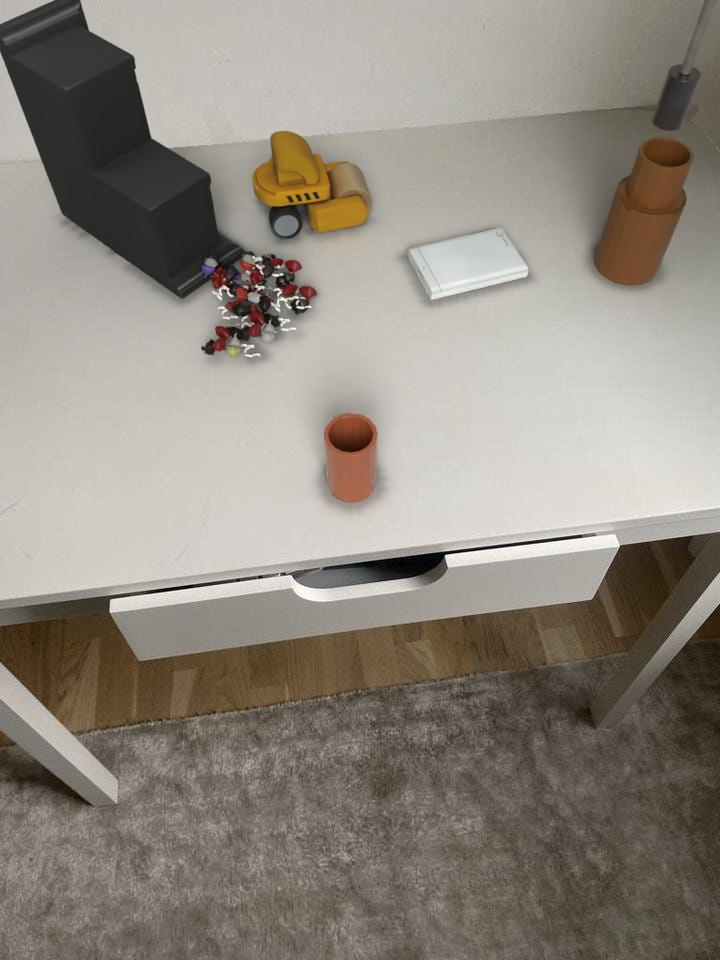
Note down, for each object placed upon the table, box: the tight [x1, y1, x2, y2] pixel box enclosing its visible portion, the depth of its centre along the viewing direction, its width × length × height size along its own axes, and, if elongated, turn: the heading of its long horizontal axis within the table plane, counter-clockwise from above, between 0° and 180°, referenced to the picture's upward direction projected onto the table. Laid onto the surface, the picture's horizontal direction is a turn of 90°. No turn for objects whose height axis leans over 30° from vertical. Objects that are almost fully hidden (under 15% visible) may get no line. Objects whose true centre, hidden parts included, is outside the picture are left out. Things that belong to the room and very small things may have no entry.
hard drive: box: [406, 227, 530, 301], centre depth 92 cm, size 2×8×12 cm
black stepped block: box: [0, 0, 246, 299], centre depth 86 cm, size 23×11×24 cm, turn 49°
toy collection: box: [200, 250, 318, 358], centre depth 87 cm, size 15×14×5 cm
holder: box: [323, 412, 378, 504], centre depth 72 cm, size 5×5×8 cm
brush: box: [651, 0, 718, 132], centre depth 68 cm, size 3×3×20 cm
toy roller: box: [252, 130, 373, 240], centre depth 94 cm, size 9×14×10 cm, turn 103°
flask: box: [593, 136, 695, 286], centre depth 87 cm, size 8×8×15 cm
